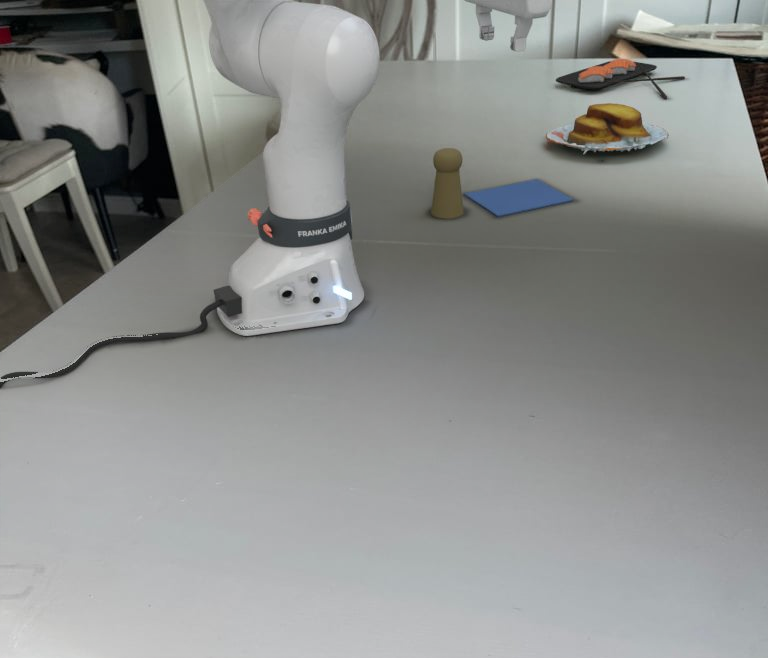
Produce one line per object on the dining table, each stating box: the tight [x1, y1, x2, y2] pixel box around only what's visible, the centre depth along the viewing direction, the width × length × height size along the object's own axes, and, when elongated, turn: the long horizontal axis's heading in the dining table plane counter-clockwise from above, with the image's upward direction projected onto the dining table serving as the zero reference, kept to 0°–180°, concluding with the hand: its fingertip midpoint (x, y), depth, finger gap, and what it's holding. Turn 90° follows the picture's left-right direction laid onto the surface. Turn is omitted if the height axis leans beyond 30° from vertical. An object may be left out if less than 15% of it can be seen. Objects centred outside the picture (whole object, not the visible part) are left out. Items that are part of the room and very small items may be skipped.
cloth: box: [464, 178, 574, 218], centre depth 152 cm, size 16×13×1 cm
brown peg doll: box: [430, 147, 465, 220], centre depth 145 cm, size 6×6×11 cm
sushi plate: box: [555, 58, 686, 100], centre depth 210 cm, size 29×30×4 cm
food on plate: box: [545, 102, 670, 162], centre depth 172 cm, size 25×25×7 cm
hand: (501, 45), depth 120 cm, fingers open, 8 cm apart
